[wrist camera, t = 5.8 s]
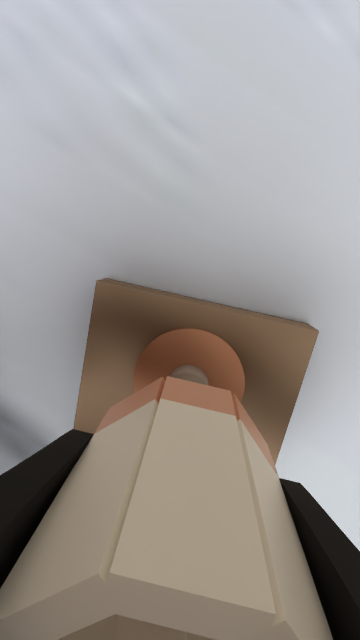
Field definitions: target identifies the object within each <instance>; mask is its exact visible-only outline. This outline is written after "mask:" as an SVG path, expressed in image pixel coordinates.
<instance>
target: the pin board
mask: <svg viewBox="0 0 360 640" xmlns="http://www.w3.org/2000/svg"><path fill="white" fill-rule="evenodd" d="M318 333H319V331H318V330H316V329H315V328H313V327H312V326H310V325H309V324H305V323H301V322H297V321H292V320H288V319H283V318H279V317H274V316H270V315H266V314H261V313H257V312H252V311H248V310H243V309H239V308H235V307H230V306H226V305H221V304H217V303H212V302H208V301H204V300H199V299H195V298H190V297H186V296H181V295H177V294H173V293H168V292H164V291H159V290H155V289H150V288H146V287H142V286H137V285H133V284H128V283H124V282H119V281H115V280H111V279H102V280H98V281H96V287H95V294H94V300H93V306H92V313H91V319H90V326H89V332H88V339H87V345H86V351H85V358H84V364H83V371H82V377H81V384H80V390H79V396H78V403H77V409H76V416H75V422H74V429H75V430H79V431H83V432H88V433H92V434H94V433H95V431H96V429H97V428H98V426H99V424H100V423H101V421H102V419H103V418H104V416H105V414H106V413H107V411H108V410H109V408H110V407H111V406H113V405H115V404H116V403H118V402H120V401H122V400H123V399H125V398H127V397H128V396H130V395H132V394H134V393H135V392H137V391H139V390H140V389H142V388H144V387H146V386H147V385H149V384H151V383H152V382H154V381H156V380H157V379H159V378H161V377H163V378H164V380H165V381H166V378H167V376H169V377H174V378H178V379H182V380H187V381H191V382H195V383H199V384H204V385H208V386H212V387H217V388H221V389H225V390H230V391H231V394H232V395H233V394H234V393H235V395H236V396H237V398H238V399H239V401H240V403H241V404H242V406H243V407H244V409H245V410H246V412H247V413H248V415H249V417H250V418H251V420H252V421H253V423H254V424H255V426H256V427H257V429H258V430H259V432H260V434H261V435H262V437H263V438H264V440H265V441H266V443H267V445H268V448H269V451H270V453H271V456H272V459H273V462H274V465H275V464H276V461H277V458H278V454H279V451H280V448H281V445H282V442H283V439H284V436H285V433H286V430H287V427H288V424H289V421H290V418H291V415H292V412H293V409H294V406H295V403H296V400H297V397H298V394H299V391H300V387H301V384H302V381H303V378H304V375H305V372H306V369H307V366H308V363H309V360H310V357H311V354H312V351H313V348H314V345H315V342H316V339H317V336H318Z"/></svg>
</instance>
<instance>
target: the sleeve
mask: <svg viewBox="0 0 360 640" xmlns="http://www.w3.org/2000/svg"><path fill="white" fill-rule="evenodd" d="M0 640H333V637H332V634H331V631H330V628H329V625H328V622H327V619H326V616H325V614H324V611H323V608H322V605H321V602H320V599H319V596H318V593H317V590H316V587H315V584H314V581H313V578H312V575H311V572H310V569H309V566H308V563H307V560H306V557H305V554H304V551H303V548H302V545H301V542H300V539H299V536H298V533H297V531H296V528H295V525H294V522H293V519H292V516H291V513H290V510H289V507H288V504H287V501H286V498H285V495H284V492H283V489H282V486H281V483H280V480H279V477H278V474H277V471H276V468H275V465H274V462H273V459H272V456H271V453H270V451H269V448H268V445H267V443H266V441H265V440H264V438H263V437H262V435H261V434H260V432H259V430H258V429H257V427H256V426H255V424H254V423H253V421H252V420H251V418H250V417H249V415H248V413H247V412H246V410H245V409H244V407H243V406H242V404H241V403H240V401H239V399H238V398H237V396H236V395H235V393H234V394H233V395H232V394H231V391H230V390H225V389H221V388H217V387H212V386H208V385H204V384H199V383H195V382H191V381H187V380H182V379H178V378H174V377H169V376H167V378H166V381H165V380H164V378H163V377H161V378H159V379H157V380H156V381H154V382H152V383H151V384H149V385H147V386H146V387H144V388H142V389H140V390H139V391H137V392H135V393H134V394H132V395H130V396H128V397H127V398H125V399H123V400H122V401H120V402H118V403H116V404H115V405H113V406H111V407H110V408H109V410H108V411H107V413H106V414H105V416H104V418H103V419H102V421H101V423H100V424H99V426H98V428H97V429H96V431H95V433H94V435H93V437H92V438H91V440H90V442H89V443H88V445H87V447H86V448H85V450H84V452H83V453H82V455H81V457H80V458H79V460H78V462H77V463H76V464H75V466H74V468H73V469H72V471H71V472H70V474H69V476H68V477H67V479H66V481H65V482H64V484H63V486H62V487H61V489H60V491H59V492H58V494H57V496H56V497H55V499H54V501H53V502H52V504H51V506H50V507H49V509H48V511H47V512H46V514H45V516H44V517H43V519H42V521H41V522H40V524H39V526H38V527H37V529H36V530H35V532H34V534H33V535H32V537H31V539H30V540H29V542H28V544H27V545H26V547H25V549H24V550H23V552H22V554H21V555H20V557H19V559H18V560H17V562H16V564H15V565H14V567H13V569H12V570H11V572H10V574H9V575H8V577H7V579H6V580H5V582H4V584H3V585H2V587H1V588H0Z"/></svg>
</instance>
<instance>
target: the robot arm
mask: <svg viewBox="0 0 360 640" xmlns="http://www.w3.org/2000/svg"><path fill="white" fill-rule="evenodd" d="M93 435H94V434H92V433H88V432H83V431H79V430H75V429H72V430H70V431H69V432H67V433H66V434H64V435H62V436H61V437H59V438H58V439H56V440H55V441H53V442H52V443H50V444H49V445H47V446H46V447H44V448H43V449H41V450H40V451H38V452H37V453H35V454H34V455H32V456H31V457H29V458H27V459H26V460H24V461H23V462H21V463H19V464H18V465H16V466H15V467H13V468H11V469H10V470H8V471H7V472H5V473H3V474H2V475H0V588H1V587H2V585H3V584H4V582H5V580H6V579H7V577H8V575H9V574H10V572H11V570H12V569H13V567H14V565H15V564H16V562H17V560H18V559H19V557H20V555H21V554H22V552H23V550H24V549H25V547H26V545H27V544H28V542H29V540H30V539H31V537H32V535H33V534H34V532H35V530H36V529H37V527H38V526H39V524H40V522H41V521H42V519H43V517H44V516H45V514H46V512H47V511H48V509H49V507H50V506H51V504H52V502H53V501H54V499H55V497H56V496H57V494H58V492H59V491H60V489H61V487H62V486H63V484H64V482H65V481H66V479H67V477H68V476H69V474H70V472H71V471H72V469H73V468H74V466H75V464H76V463H77V462H78V460H79V458H80V457H81V455H82V453H83V452H84V450H85V448H86V447H87V445H88V443H89V442H90V440H91V438H92V437H93ZM279 480H280V483H281V486H282V489H283V492H284V495H285V498H286V501H287V504H288V507H289V510H290V513H291V516H292V519H293V522H294V525H295V528H296V531H297V533H298V536H299V539H300V542H301V545H302V548H303V551H304V554H305V557H306V560H307V563H308V566H309V569H310V572H311V575H312V578H313V581H314V584H315V587H316V590H317V593H318V596H319V599H320V602H321V605H322V608H323V611H324V614H325V616H326V619H327V622H328V625H329V628H330V631H331V634H332V637H333V640H360V551H359V550H358V549H357V548H356V547H355V546H354V544H353V543H352V542H351V541H350V540H349V539H348V538H347V536H346V535H345V534H344V533H343V532H342V531H341V529H340V528H339V527H338V526H337V525H336V524H335V522H334V521H333V520H332V519H331V518H330V517H329V515H328V514H327V513H326V512H325V511H324V509H323V508H322V507H321V506H320V505H319V504H318V502H317V501H316V500H315V499H314V498H313V497H312V496H311V494H310V493H309V492H308V491H307V490H306V489H305V488H304V487H303V486H302V485H301V484H300V483H297V482H293V481H289V480H285V479H280V478H279Z"/></svg>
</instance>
